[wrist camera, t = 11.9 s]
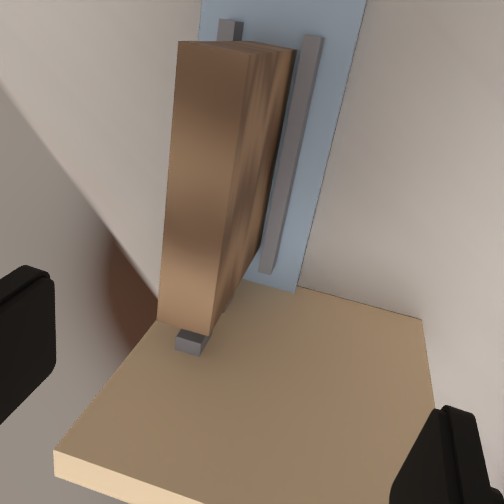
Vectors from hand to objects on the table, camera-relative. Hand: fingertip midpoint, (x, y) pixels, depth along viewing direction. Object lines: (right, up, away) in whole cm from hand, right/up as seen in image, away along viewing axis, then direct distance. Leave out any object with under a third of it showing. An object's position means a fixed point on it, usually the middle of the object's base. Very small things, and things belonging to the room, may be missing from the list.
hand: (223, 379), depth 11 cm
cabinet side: (+6, +9, +22) cm, 24 cm away
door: (+1, +10, +21) cm, 23 cm away
